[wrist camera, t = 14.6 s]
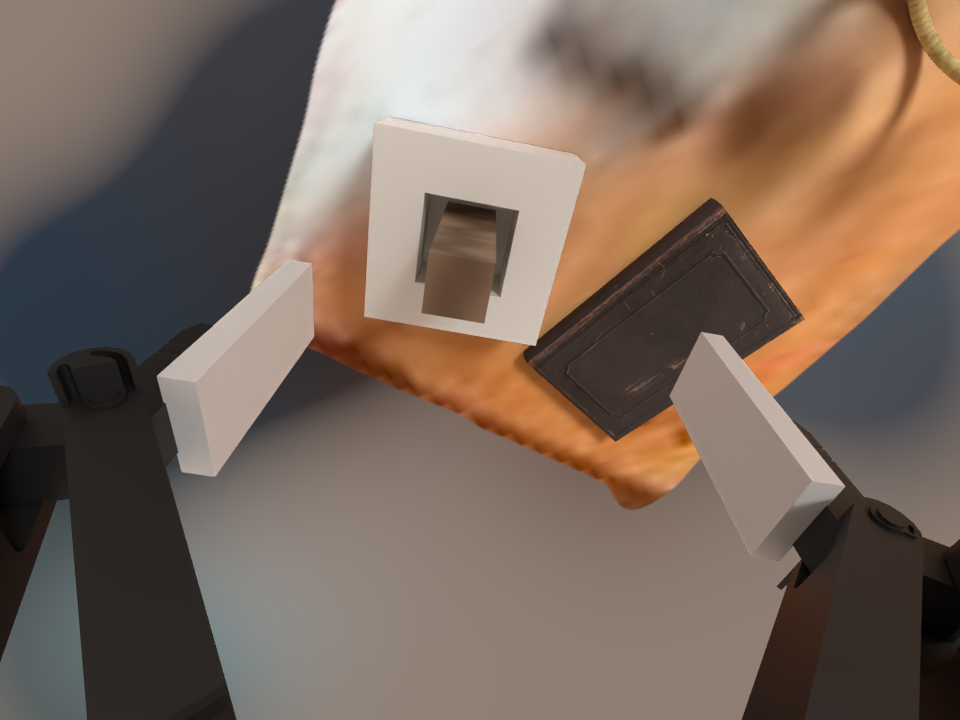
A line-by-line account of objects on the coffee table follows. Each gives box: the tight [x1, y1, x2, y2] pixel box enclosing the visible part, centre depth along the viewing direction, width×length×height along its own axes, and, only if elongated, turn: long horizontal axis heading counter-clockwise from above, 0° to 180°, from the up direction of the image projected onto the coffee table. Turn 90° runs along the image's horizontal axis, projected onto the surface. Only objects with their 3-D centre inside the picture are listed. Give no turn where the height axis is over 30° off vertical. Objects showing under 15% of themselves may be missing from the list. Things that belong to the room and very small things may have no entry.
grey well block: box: [364, 117, 586, 346], centre depth 41 cm, size 16×16×6 cm
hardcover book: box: [524, 198, 805, 442], centre depth 48 cm, size 16×23×2 cm
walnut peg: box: [422, 202, 496, 324], centre depth 37 cm, size 4×4×14 cm
